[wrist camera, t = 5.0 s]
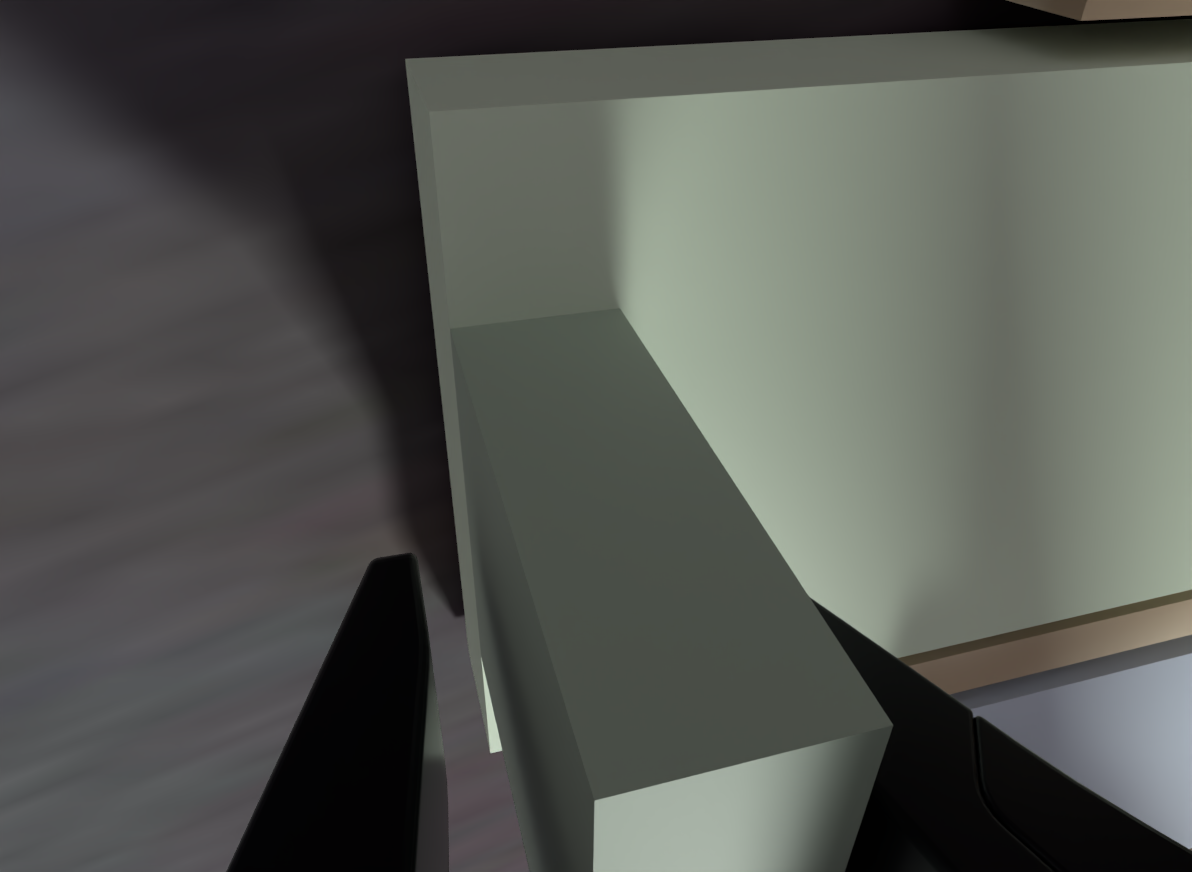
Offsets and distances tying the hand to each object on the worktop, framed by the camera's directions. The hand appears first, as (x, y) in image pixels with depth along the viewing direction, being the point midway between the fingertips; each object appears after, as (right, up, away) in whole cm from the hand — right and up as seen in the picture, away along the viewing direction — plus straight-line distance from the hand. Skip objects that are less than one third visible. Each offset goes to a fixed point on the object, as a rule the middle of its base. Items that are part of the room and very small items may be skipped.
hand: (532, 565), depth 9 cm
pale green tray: (+8, +3, +4) cm, 10 cm away
